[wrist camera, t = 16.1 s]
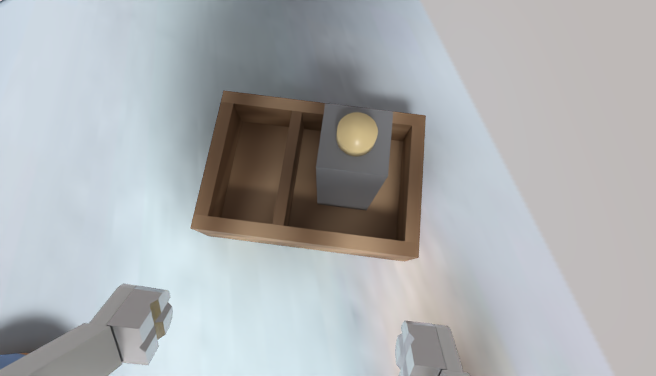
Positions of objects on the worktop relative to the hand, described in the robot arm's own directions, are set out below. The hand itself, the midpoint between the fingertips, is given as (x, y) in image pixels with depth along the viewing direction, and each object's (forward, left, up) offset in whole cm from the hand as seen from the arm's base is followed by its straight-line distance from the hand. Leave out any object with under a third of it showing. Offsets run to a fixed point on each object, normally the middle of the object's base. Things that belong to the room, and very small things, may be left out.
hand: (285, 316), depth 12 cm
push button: (+2, +9, -14) cm, 17 cm away
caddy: (0, +9, -15) cm, 18 cm away
